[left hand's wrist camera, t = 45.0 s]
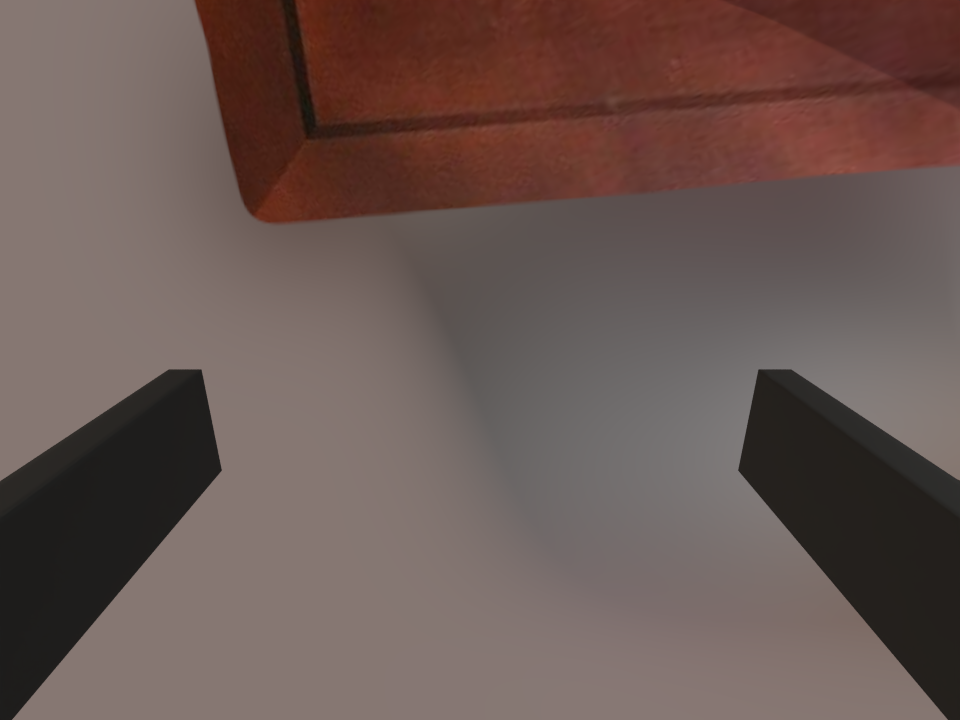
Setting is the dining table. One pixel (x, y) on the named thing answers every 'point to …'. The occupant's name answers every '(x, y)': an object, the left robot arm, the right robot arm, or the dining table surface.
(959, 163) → the dining table surface
